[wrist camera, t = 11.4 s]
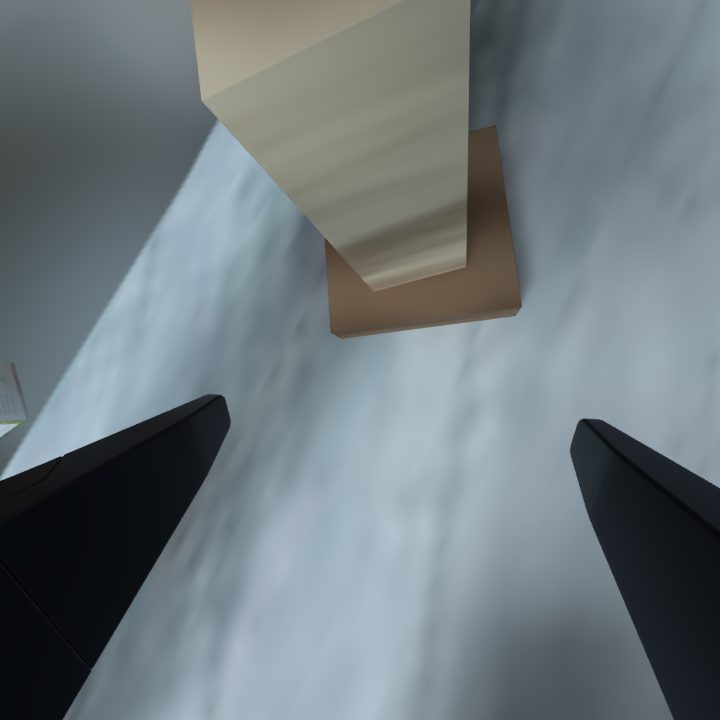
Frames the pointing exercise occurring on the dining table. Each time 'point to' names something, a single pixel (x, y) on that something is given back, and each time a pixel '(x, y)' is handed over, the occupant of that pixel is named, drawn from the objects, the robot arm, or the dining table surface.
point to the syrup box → (10, 400)
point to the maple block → (352, 119)
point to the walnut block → (447, 290)
